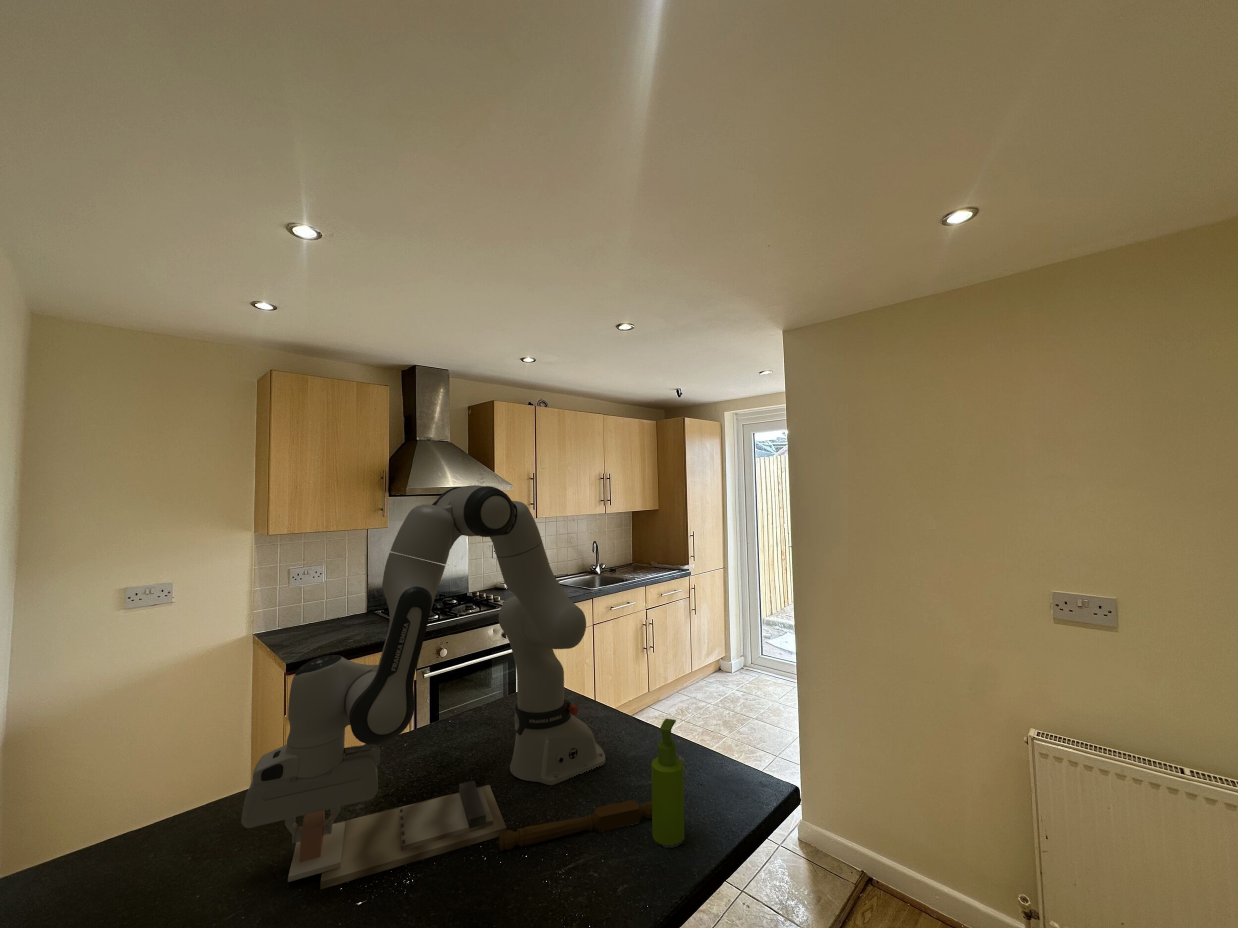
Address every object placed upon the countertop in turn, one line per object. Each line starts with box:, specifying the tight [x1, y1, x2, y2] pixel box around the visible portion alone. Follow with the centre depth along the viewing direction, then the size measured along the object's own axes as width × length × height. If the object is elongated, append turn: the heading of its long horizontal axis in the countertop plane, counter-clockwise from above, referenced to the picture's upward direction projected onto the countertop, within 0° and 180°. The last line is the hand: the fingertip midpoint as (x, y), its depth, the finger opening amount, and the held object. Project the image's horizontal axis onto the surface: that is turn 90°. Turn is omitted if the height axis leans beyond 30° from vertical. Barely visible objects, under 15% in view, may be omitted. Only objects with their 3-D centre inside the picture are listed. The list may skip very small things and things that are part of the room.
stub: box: [287, 810, 345, 883], centre depth 87 cm, size 7×12×6 cm, turn 26°
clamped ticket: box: [319, 780, 507, 890], centre depth 94 cm, size 30×16×4 cm, turn 116°
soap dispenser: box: [650, 718, 685, 845], centre depth 93 cm, size 6×7×20 cm
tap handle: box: [498, 799, 652, 852], centre depth 94 cm, size 3×3×30 cm
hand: (312, 836), depth 87 cm, fingers closed on stub, 3 cm apart
